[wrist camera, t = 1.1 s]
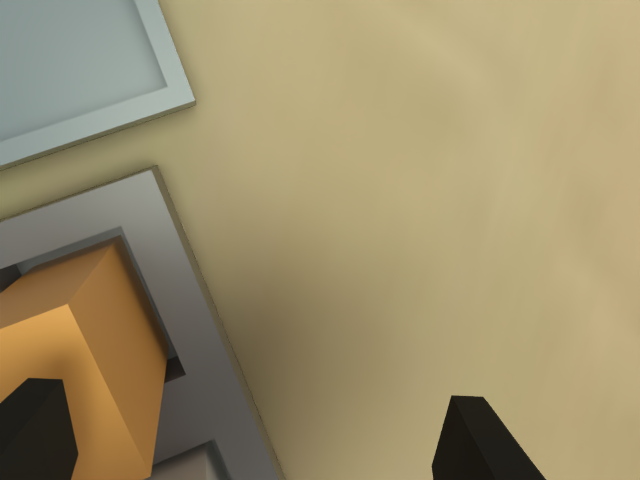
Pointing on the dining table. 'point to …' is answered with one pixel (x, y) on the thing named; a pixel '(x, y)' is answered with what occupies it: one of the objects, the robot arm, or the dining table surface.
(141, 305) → the orange rectangular block
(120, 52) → the parts tray
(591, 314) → the dining table surface
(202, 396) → the block
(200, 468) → the fuse
